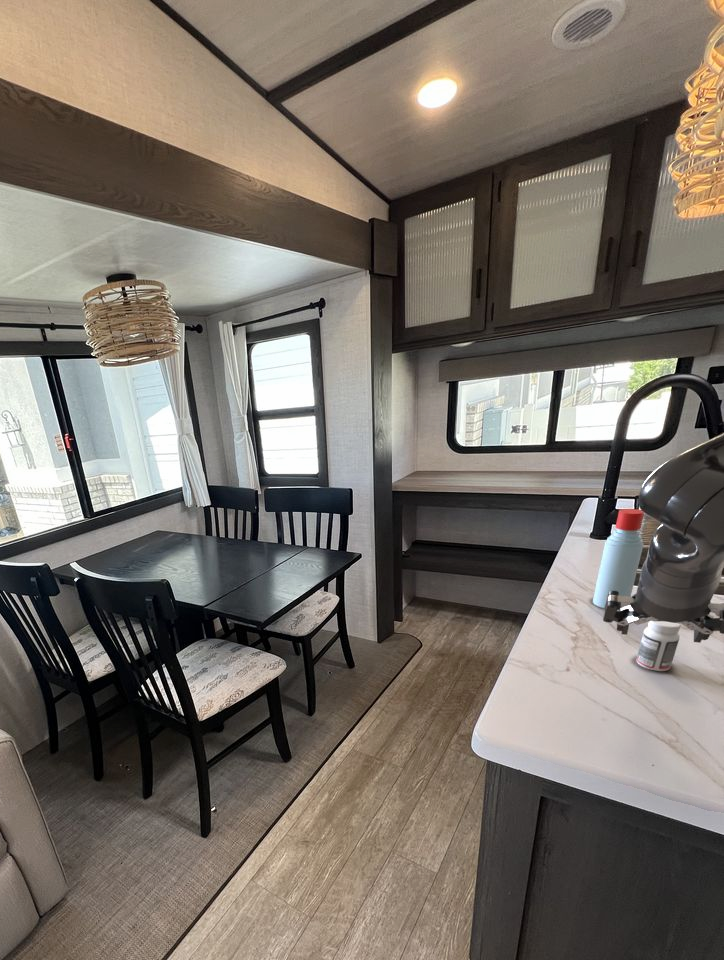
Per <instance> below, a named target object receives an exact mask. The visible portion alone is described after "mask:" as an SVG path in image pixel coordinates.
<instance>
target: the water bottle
mask: <svg viewBox="0 0 724 960" xmlns="http://www.w3.org/2000/svg"><path fill="white" fill-rule="evenodd" d="M643 549H644V539H642V536H641V535H640V532H639V531H638V530H634V531H628V530H621V529H617V528H616V529H615V530H614V531H613V532H612V533H611V534H610V535H609V536H608V537H607V539H606V540H605V542H604V547H603V552H602V557H601V560H600V561H601V562H600V565H599V569H598V575H597V580H596V584H595V589H594V593H593V599H592V603H593V604H594V606H597V607H599V608H601V609H605V604H606V600H607V597H608V593H609V591H618V592H619V596H623V597H632V593H633V589H634V585H635V581H636V577H637V573H638V572H637V571H638V570H639V568H638V567H639V564H640V561H641V556H642V553H643ZM624 607H625V606H624Z"/></svg>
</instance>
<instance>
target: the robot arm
mask: <svg viewBox="0 0 724 960" xmlns="http://www.w3.org/2000/svg"><path fill="white" fill-rule="evenodd" d="M637 502H638V507H639V510H642V512H644V515H646V516H647V517H649V518H650V519H652V520H654V521H655V522H657V523H659V524H661V525H660V526H659V527H658V528H656V530H655V531H654V532H653V534H652V537H651V538H650V541H649V546H648V550H647V553H646V559H645V560H644V561H643V564H642V567H641V570H640V575H639V579H638V583H637V589H636V592H635V594H634V593H633V594H632V595H631V597H623V596H619V592H618V591H609V593H608V597H607V600H606V604H605V608H604V612H603V613H604V614H603V618H602V620H603V622H604V623H613V622H616V630H617V632H621V635H628V632H629V627H630V625H633V624H634V625H637V626H638V625H641V624H646V623H649V621H665V622H671V623H678V624H680V625H682V626H684V627H685V628H687V629H689V630H691V631H693V643H699V644H701V642H702V641H707V640H708V639H709V638H710V636H711V635H713V633H714V632H719V633H720V634H722V635H724V602H719V603H718V602H711V600H712V599H713V597H714V595H715V593H716V592H717V591H718V589H719V587H720V582H721V580H722V579H721V578H722V574H723V570H724V432H723V433H720V434H719V435H716V436H714V437H712V438H710V439H709V440H708V439H707V440H706V441H704V442H702V443H699V444H698V445H695V446H693V447H691V448H689V449H687V450H685V451H683V452H681V453H679V454H678V455H676V456H674V457H671V458H670V459H669V460H667V461H665V462H663V464H661V465H660V466H659V467H657V468H656V469H655V470H654V471H652V473H651V474H650V475H649V476H648V477H647V478H646V480H645V481H644V483H643V484H642V486H641V487H640V490H639V493H638V498H637ZM624 606H625V607H624ZM711 613H712V614H715V616H716V617H714V615H712V614H711Z"/></svg>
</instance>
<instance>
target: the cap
mask: <svg viewBox="0 0 724 960" xmlns="http://www.w3.org/2000/svg"><path fill="white" fill-rule="evenodd" d="M644 515H645V513H644V512H642V510H641V509H635V508H622V509H619V510H618V514H617V518H616V524H615V529H616V530H617V529H621V530H628V531H634V530H637V531H639V530H640V529H641V528H642V524H643V519H644Z"/></svg>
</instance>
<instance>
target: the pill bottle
mask: <svg viewBox="0 0 724 960" xmlns="http://www.w3.org/2000/svg"><path fill="white" fill-rule="evenodd" d="M680 628H681V624H678V623H671V622H665V621H649V622H648V623H647V627H645V629H644V630H643V633H642V637H641V640H640V643H639V648H638V651H637V655H636V663H637V664H638V665H639V666H641V667H642V668H644V669H648V670H652V671H655V672H665V671H668V670H670V669H671V667H672V664H673V660H674V657H675V654H676V650H677V648H678V645H679V643H680V642H679V641H680V634H679V632H680Z"/></svg>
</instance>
